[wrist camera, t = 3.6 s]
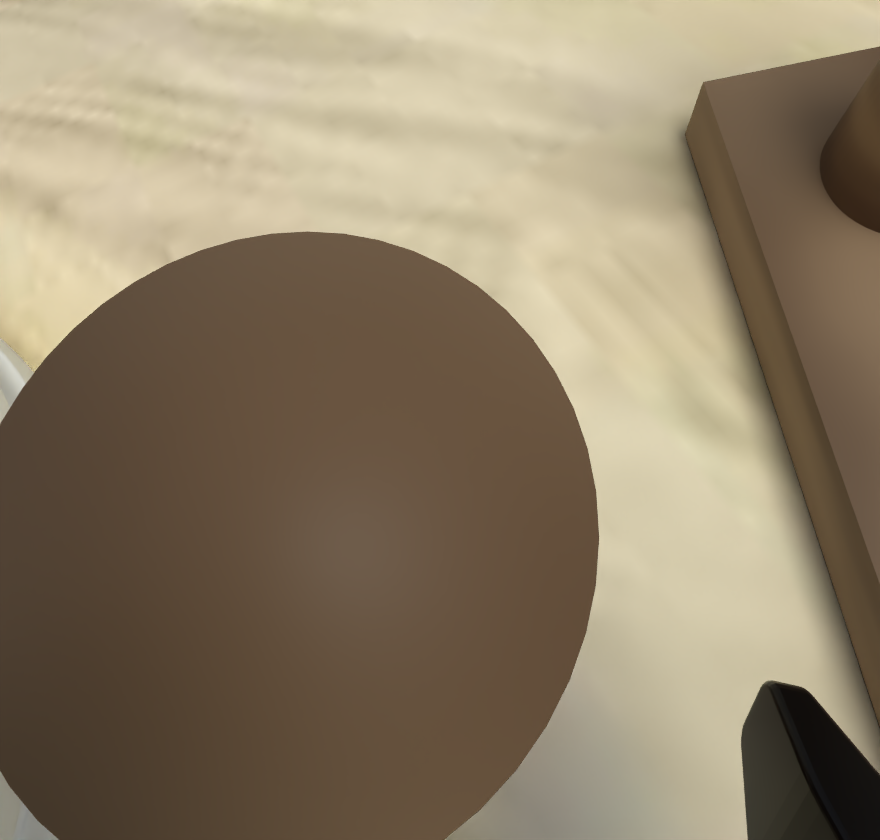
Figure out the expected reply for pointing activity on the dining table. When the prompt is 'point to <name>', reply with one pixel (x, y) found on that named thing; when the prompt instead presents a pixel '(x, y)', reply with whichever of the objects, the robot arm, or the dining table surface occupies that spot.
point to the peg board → (811, 289)
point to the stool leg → (287, 551)
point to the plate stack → (3, 814)
